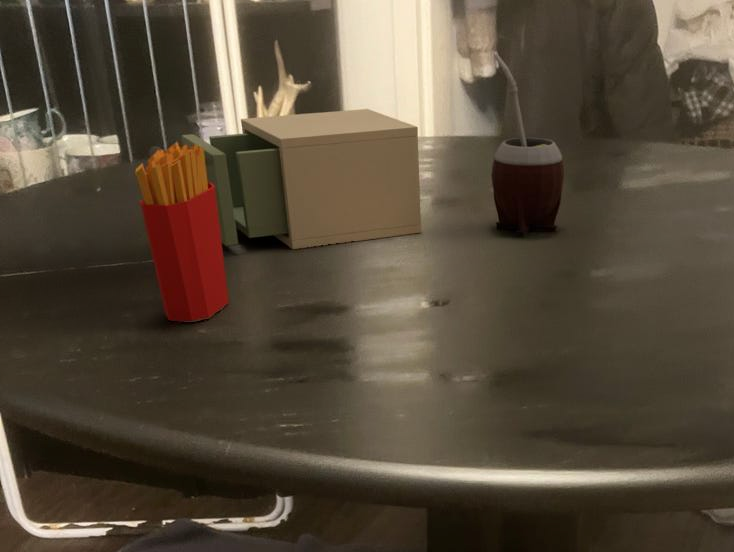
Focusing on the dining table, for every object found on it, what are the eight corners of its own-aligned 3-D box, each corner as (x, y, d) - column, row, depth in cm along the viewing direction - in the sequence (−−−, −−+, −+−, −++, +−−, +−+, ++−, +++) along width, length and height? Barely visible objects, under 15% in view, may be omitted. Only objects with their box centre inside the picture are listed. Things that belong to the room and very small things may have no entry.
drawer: (184, 251, 90) (168, 158, 85) (156, 224, 98) (140, 138, 93) (351, 230, 96) (344, 142, 91) (312, 206, 104) (304, 124, 99)
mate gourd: (553, 239, 96) (560, 64, 87) (476, 235, 98) (475, 62, 89) (567, 221, 102) (575, 55, 93) (493, 217, 104) (494, 53, 95)
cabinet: (292, 249, 94) (280, 138, 88) (254, 221, 103) (240, 118, 97) (421, 232, 99) (417, 126, 93) (373, 206, 108) (367, 108, 102)
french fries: (195, 293, 82) (169, 136, 75) (240, 296, 82) (217, 137, 75) (150, 326, 76) (116, 156, 69) (198, 329, 75) (168, 159, 68)
